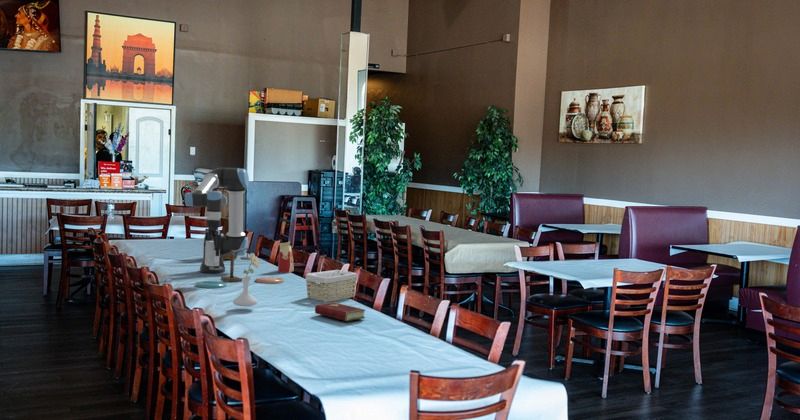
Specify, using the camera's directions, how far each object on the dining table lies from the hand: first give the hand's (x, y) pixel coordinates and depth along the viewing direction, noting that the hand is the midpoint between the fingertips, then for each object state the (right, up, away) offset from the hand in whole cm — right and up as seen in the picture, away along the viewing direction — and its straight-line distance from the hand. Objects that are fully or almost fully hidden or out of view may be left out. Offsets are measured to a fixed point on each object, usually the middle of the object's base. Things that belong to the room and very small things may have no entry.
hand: (212, 260), depth 389 cm
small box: (0, -2, 0) cm, 2 cm away
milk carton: (+29, -12, +62) cm, 70 cm away
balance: (+5, -13, +23) cm, 27 cm away
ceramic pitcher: (-21, -7, +108) cm, 110 cm away
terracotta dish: (+27, -14, +26) cm, 40 cm away
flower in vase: (+29, -18, -49) cm, 59 cm away
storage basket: (+66, -20, -13) cm, 70 cm away
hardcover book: (+74, -21, -59) cm, 97 cm away
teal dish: (-1, -14, +1) cm, 14 cm away
